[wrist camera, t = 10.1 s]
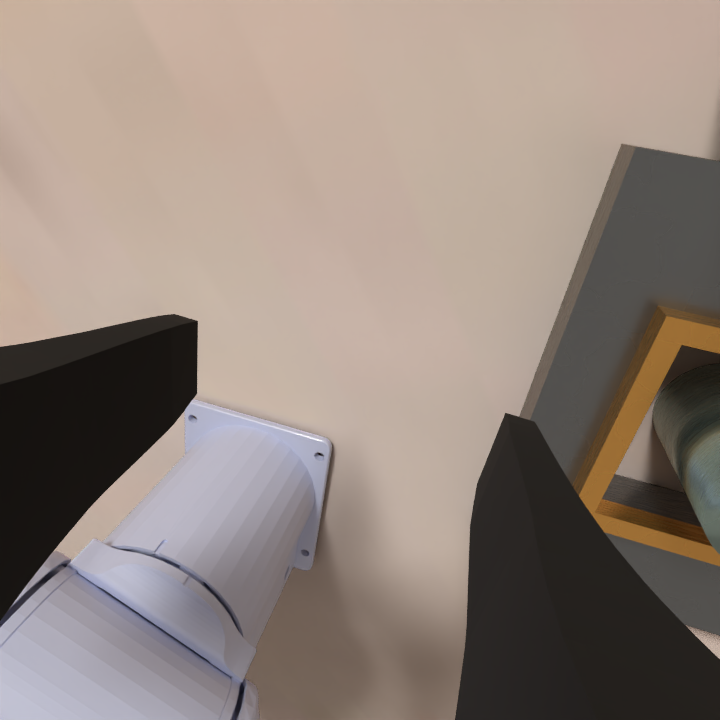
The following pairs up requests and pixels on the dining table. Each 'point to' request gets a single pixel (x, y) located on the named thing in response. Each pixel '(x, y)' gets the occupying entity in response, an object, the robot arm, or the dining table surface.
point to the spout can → (694, 441)
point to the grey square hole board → (637, 363)
